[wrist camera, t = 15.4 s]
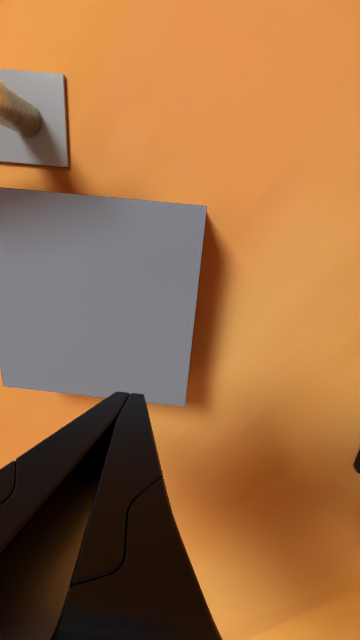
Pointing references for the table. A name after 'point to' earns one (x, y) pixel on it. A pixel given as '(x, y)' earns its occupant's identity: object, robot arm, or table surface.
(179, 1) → the table surface
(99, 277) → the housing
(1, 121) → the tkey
